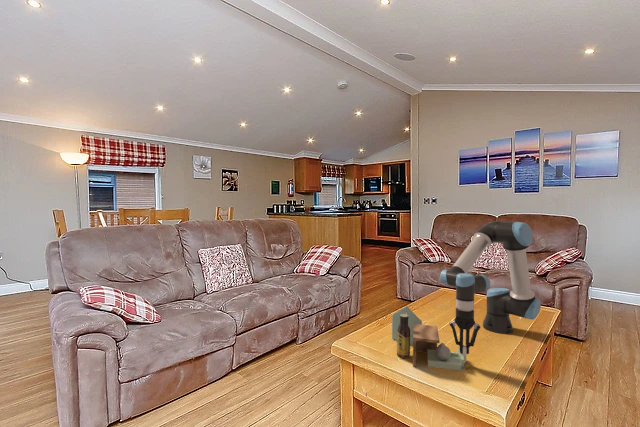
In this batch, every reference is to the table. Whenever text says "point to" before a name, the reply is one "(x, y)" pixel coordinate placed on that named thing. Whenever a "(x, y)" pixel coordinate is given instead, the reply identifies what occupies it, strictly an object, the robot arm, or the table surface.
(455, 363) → the tray
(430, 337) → the wooden open box
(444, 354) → the figurine
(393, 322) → the grey piece
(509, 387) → the table surface
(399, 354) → the sauce bottle
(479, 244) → the robot arm
